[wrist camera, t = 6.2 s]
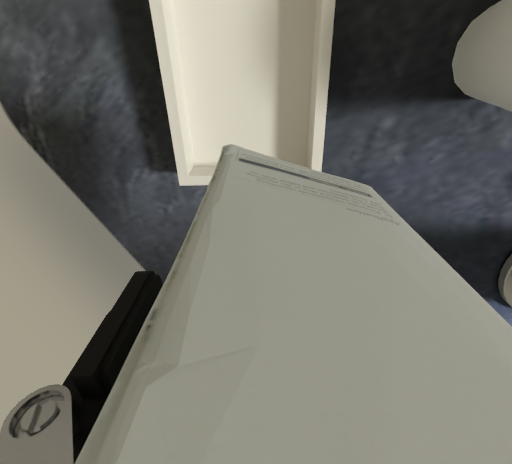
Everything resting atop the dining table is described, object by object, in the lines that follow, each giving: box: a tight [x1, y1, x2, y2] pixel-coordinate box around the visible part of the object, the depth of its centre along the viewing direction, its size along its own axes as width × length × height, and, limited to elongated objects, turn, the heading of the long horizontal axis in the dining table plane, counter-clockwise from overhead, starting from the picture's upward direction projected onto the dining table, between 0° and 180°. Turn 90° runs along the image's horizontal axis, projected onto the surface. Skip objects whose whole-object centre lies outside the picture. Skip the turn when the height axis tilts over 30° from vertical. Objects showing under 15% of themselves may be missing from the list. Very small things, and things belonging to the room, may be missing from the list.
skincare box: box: [75, 144, 512, 464], centre depth 9 cm, size 10×6×10 cm, turn 164°
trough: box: [149, 0, 335, 186], centre depth 21 cm, size 12×16×4 cm
